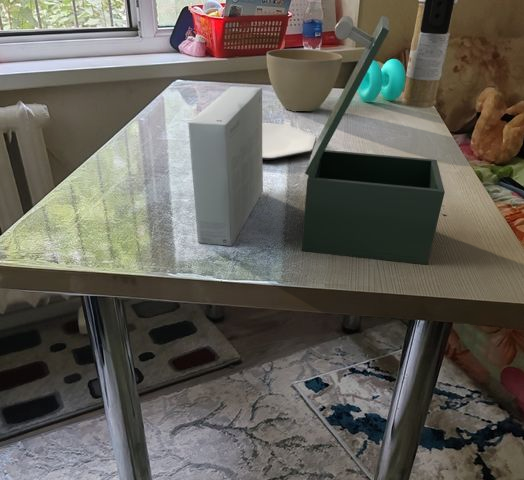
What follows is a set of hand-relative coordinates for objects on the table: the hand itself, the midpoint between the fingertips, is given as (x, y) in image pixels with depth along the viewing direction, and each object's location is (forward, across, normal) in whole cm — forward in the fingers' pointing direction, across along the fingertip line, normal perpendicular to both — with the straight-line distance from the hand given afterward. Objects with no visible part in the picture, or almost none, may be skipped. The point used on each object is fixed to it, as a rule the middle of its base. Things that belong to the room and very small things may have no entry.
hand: (432, 28), depth 67 cm
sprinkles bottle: (+9, 0, 0) cm, 9 cm away
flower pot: (+25, +66, +24) cm, 74 cm away
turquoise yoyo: (+25, +81, +6) cm, 85 cm away
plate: (+25, +32, +28) cm, 49 cm away
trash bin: (+25, -7, +4) cm, 26 cm away
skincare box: (+25, -4, +24) cm, 36 cm away
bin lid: (+7, -7, +9) cm, 13 cm away
